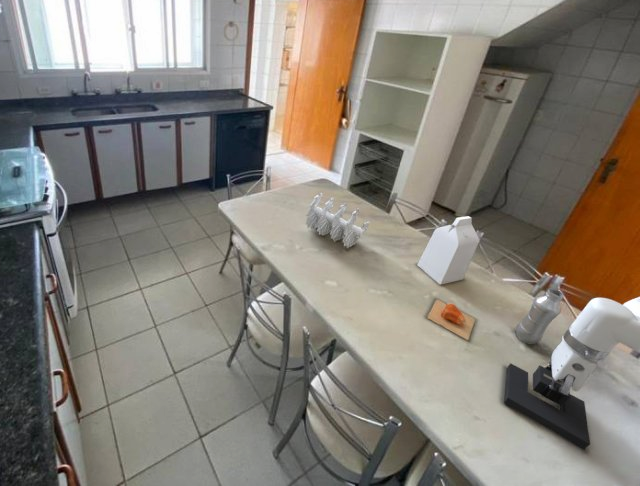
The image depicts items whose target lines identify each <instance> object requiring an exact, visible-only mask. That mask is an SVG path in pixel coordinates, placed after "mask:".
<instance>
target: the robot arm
mask: <svg viewBox="0 0 640 486" xmlns="http://www.w3.org/2000/svg"><path fill="white" fill-rule="evenodd" d="M561 336H562V337H561V340H562V341H560V342H559V344H558V345H557V346H556V348H555V349H554V350H553V351H552V354H551V359H550V361H549V362H548V364H547V366H546V367H545V368H546V369H548V370H550V371H552V377H553V380H552V382H551V384H550V385H549V384H548V385H547V386H546V387H545V388H544V390H543V391H542V392H541V395H540V396H541V397H543V398H545V399H546V400H548V401H550V402H552V403H555V404H557V402H558V401H559V400H560V398H561V397H562V396H564V395H566V396H568V394H569V391H570V392H571V390H572V391H574V392H579V391H580V390H581V389H582V387H583V386H584V385H585V384H586V382H587V381H588V380H589V378H590V377H591V376H592V374H593V372H594V371H595V369H596V367H597V365H598V363H600V362H602V361H604V359H605V358H606V357H607V356H608V355H609V354H610V353H611V352H612V351H613V350H614V349H615V347H616V346H617V345H619V343H620V344H622V345H623V346H626V347H627V348H629V349H631V350H633V351H635V352H637V353H638V354H640V296H638V297H635V298H632V299H629V300H628V301H626V302H624V303H623V304H622V303H620V302H618V301H616V300H613V299H610V298H607V297H595V298H594V297H593V298H591V299H590V301H588V303H587V304H586V306H584V308H583V309H582V311H581V312H580V313H579V314H578V316H577V317H576V318H575V320H574V321H573V322H572V324H570V326H569V327H568V328H567V329H566V331H565V332H564V334H563V335H561ZM561 379H564V380H561ZM557 382H559V383H561V384H562V386H561V387H558V386H555V385H556V383H557Z"/></svg>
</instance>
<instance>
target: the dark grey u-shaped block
mask: <svg viewBox="0 0 640 486" xmlns="http://www.w3.org/2000/svg"><path fill="white" fill-rule="evenodd" d="M505 372H506V373H505V381H504V382H505V383H504V394H503V395H504V396H503V404H505V405H506V406H508V407H510V408H512V409H513V410H515V411H516V412H518V413H521V414H522V415H523V416H525V417H527V418H529V419H530V420H532V421H534V422H536V423H537V424H539V425H541V426H543V427H544V428H546V429H548V430H550V431H551V432H553V433H555V434H557V435H558V436H560V437H561V438H563V439H565V440H566V441H568V442H570V443H572V444H573V445H576V446H577V447H579V448H581V449H582V450H586V449H587V448H589V446H590V445H591V440H590V433H589V426H588V417H587V411H586V404H585V401H584V400H583V399H580V398H579V397H577V396H574V395H573V394H571V393H570V398H569V399H568V400H567V401H566V402H565V403H564V404H563V405H562V406H561V405H559V408H558V407H556V406H554V404H553V405H552V404H551V403H549V402H547V401H545V400H544V399H542V398H541V397H538V396H536V395H534V394H532V393H531V392H529V372H528V371H526V370H524V369H522V368H521V367H519V366H517V365H515V364H513V363H511V362H510V363H509V364H508V366H507V367H506V371H505Z"/></svg>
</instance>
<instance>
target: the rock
mask: <svg viewBox="0 0 640 486" xmlns="http://www.w3.org/2000/svg"><path fill="white" fill-rule="evenodd" d="M426 318H427V319H429V320H430V321H432V322H434V323H436V324H438V325H439V326H442V327H443V328H445V329H447V330H448V331H450V332H451V333H454V334H456V335H457V336H459V337H461V338H462V339H464V340H466V341H469V339H470V336H471V333H472V331H473V327H474V325H475V322H476V318H474V317H472V316H470V315H468V314H467V313H464V312H463V311H461V310H460V309H459V308H458V307H457V306H456V305H455V304H454V303H451V302H447V303H445V302H443V301H441V300H439V299H435V301H434V304H433V306H432V307H431V310H429V313H428V314H427V316H426Z"/></svg>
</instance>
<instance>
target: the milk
mask: <svg viewBox="0 0 640 486" xmlns="http://www.w3.org/2000/svg"><path fill="white" fill-rule="evenodd" d="M472 221H473V217H471V216H469V215H466V216H459V217H456V218H455V220H454V221H453V222H452V224H448V225H444V226H439V227H437V228H435V229H434V231H433V233H432V235H431V237H430V239H429V241H428V242H427V245H426V247H425V249H424V251H423V253H422V255H421V257H420V258H419V261H418V262H417V266H418V267H419V268H420V269H421V270H422V271H423V272H424V273H426V274H427V275H428V276H429V277H430V278H431V279H433V280H434V281H435V282H436V283H437V284H438V285H439V286H440V285H445V284H449V283H454V282H457V281H463V280H464V278H465V276H466V273H467V271H468V269H469V267H470V264H471V262H472V260H473V257H474V255H475V253H476V251H477V248H478V245H479V244H480V239H479V236H478V234H477V232H476V230H475V228H474V226H473V224H472Z"/></svg>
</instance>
